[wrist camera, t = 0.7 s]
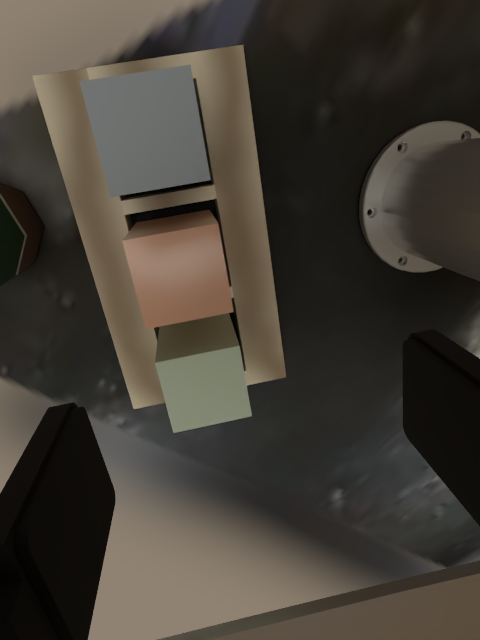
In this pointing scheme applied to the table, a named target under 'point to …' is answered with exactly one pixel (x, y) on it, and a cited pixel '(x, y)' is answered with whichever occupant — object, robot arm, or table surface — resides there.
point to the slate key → (147, 129)
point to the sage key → (201, 373)
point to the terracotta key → (178, 268)
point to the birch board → (226, 189)
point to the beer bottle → (17, 233)
